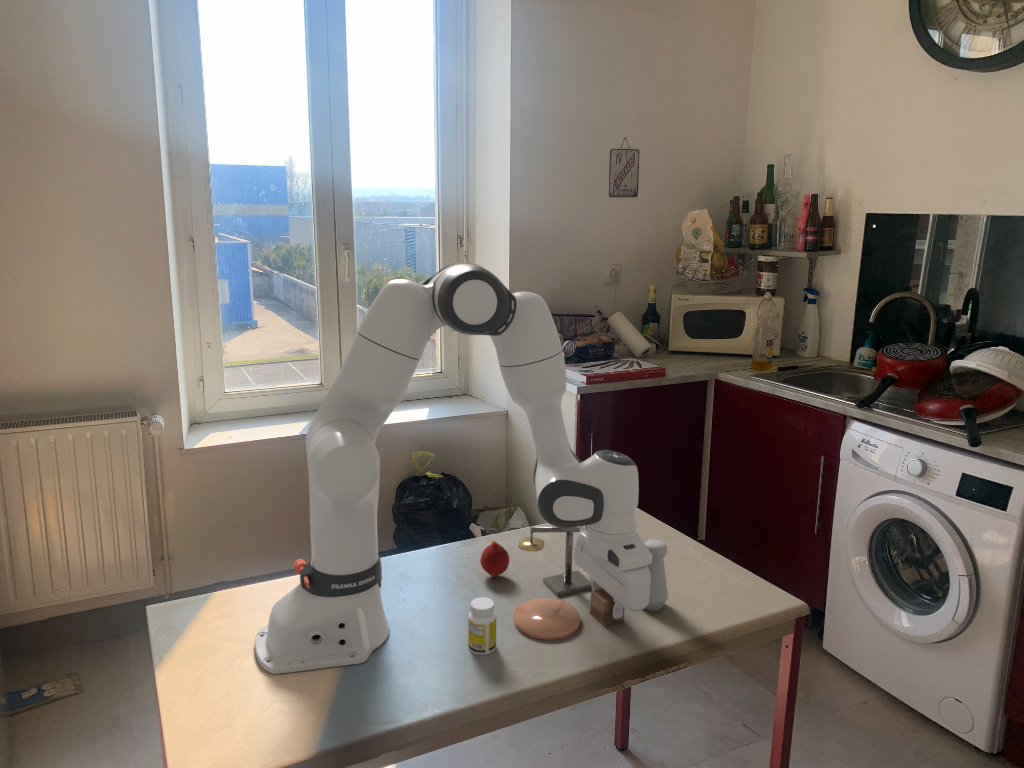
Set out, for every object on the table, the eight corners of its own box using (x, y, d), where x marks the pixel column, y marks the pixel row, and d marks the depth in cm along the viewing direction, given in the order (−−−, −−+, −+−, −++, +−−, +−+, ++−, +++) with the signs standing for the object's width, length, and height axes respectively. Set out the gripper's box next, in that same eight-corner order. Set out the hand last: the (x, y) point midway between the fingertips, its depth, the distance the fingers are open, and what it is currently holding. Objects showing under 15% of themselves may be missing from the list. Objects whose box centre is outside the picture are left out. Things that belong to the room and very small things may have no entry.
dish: (531, 646, 126) (532, 639, 126) (503, 611, 137) (503, 606, 136) (591, 630, 131) (592, 624, 131) (559, 598, 142) (559, 593, 141)
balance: (525, 603, 140) (527, 535, 137) (511, 589, 145) (513, 523, 142) (621, 581, 149) (625, 517, 146) (606, 568, 154) (609, 506, 151)
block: (602, 625, 133) (604, 602, 132) (590, 613, 137) (591, 591, 136) (623, 619, 135) (625, 597, 134) (610, 608, 139) (611, 586, 138)
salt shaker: (642, 594, 144) (646, 533, 141) (671, 602, 141) (675, 540, 138) (631, 607, 139) (635, 544, 136) (660, 616, 136) (665, 552, 133)
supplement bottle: (490, 637, 128) (491, 594, 127) (500, 652, 124) (500, 607, 122) (464, 642, 127) (464, 598, 125) (473, 658, 123) (473, 612, 121)
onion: (510, 570, 152) (510, 535, 151) (507, 584, 147) (507, 547, 145) (482, 569, 153) (482, 533, 151) (478, 582, 147) (478, 545, 146)
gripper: (567, 520, 140) (564, 586, 143) (627, 566, 122) (623, 640, 125) (595, 515, 143) (592, 579, 146) (658, 559, 125) (653, 632, 128)
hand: (607, 608), depth 136 cm, fingers closed on block, 4 cm apart
